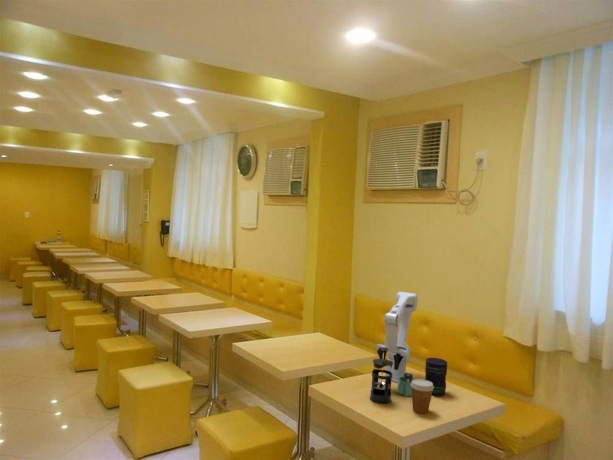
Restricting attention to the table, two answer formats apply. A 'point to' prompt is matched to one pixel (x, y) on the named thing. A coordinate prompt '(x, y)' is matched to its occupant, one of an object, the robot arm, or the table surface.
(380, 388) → the french press
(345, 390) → the table surface
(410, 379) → the carafe
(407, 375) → the plunger
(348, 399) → the table surface
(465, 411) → the table surface
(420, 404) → the disposable coffee cup
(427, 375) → the storage jar
